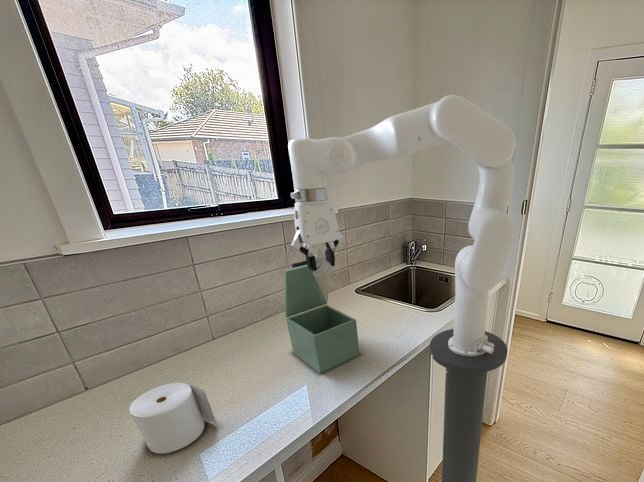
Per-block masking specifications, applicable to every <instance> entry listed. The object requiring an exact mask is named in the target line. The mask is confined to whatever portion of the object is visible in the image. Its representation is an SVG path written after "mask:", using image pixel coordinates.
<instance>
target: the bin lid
mask: <svg viewBox="0 0 644 482" xmlns="http://www.w3.org/2000/svg"><path fill="white" fill-rule="evenodd" d="M313 272H314V271H312V270H310V269H309V268H308V266H307V261H306V260H302V261H299V262H298V261H297V262H293V263H292V264H291V268H288V269H284V313H285V314H284V316H285V319H286V318H289V317H292V316H295V315H298V314H301V313H304V312H307V311H310V310H313V309H315V308H318V307H321V306H324V305H328V300H327V301H326V300H325V298H324V296H323V293H322V291H321V289H320V287H319V285H318V283H317V281H316V279H315V276H314V275H313Z"/></svg>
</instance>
